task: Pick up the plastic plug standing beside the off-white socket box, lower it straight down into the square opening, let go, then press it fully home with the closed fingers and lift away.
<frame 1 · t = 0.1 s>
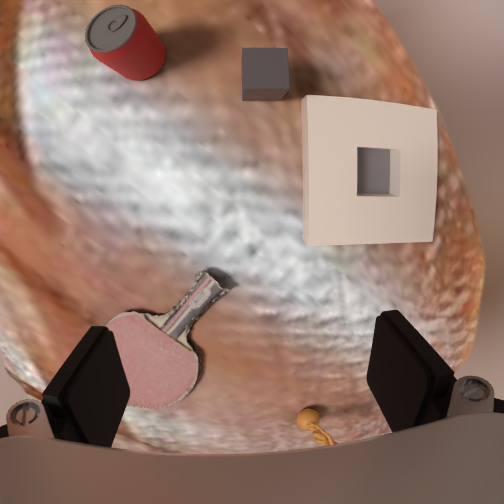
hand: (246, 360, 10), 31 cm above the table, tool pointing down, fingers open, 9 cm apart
beer can: (143, 59, 34), on the table
figurine: (311, 409, 51), on the table
socket: (368, 170, 39), on the table
table tennis paddle: (154, 344, 46), on the table
plug: (260, 84, 36), on the table
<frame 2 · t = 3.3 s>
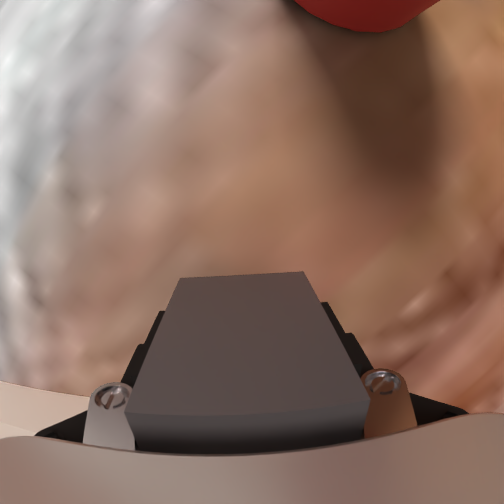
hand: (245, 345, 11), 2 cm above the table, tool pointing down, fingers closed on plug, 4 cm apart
socket: (108, 478, 17), on the table
plug: (244, 317, 13), on the table, touching gripper
when the fingers open (4 cm above the table, at t = 8.8 s): plug drops 1 cm, resting on socket.
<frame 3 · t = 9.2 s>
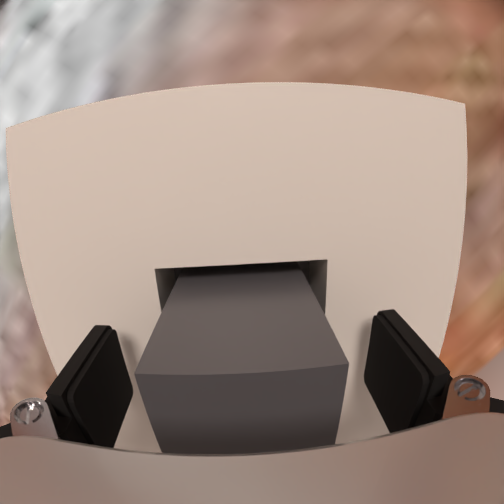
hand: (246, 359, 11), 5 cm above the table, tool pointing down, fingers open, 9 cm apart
socket: (243, 300, 15), on the table
plug: (242, 304, 15), point 1 cm above the table, touching socket
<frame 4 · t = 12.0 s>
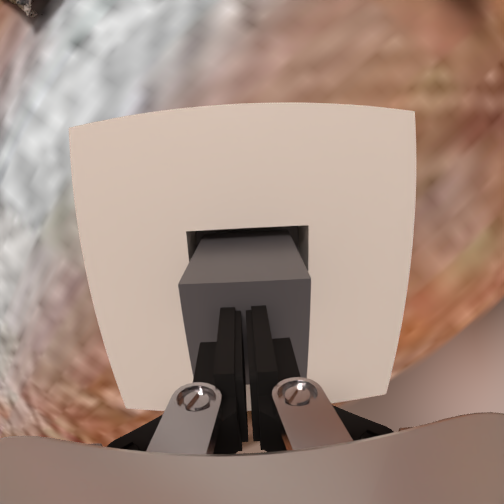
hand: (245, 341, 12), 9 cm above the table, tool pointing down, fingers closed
socket: (248, 263, 20), on the table
plug: (247, 265, 19), point 1 cm above the table, touching gripper, socket
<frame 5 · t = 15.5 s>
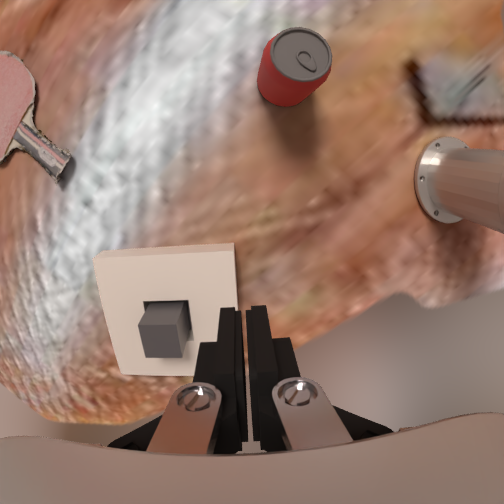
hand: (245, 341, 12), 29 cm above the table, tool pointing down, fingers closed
beer can: (283, 82, 35), on the table
socket: (173, 309, 43), on the table
table tennis paddle: (10, 116, 34), on the table
plug: (172, 310, 42), resting on socket
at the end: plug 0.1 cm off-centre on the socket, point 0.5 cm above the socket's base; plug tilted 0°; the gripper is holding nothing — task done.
